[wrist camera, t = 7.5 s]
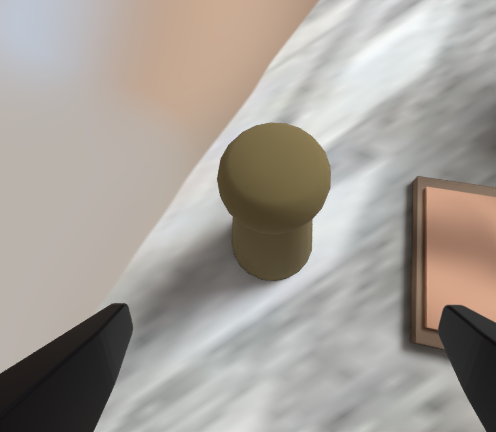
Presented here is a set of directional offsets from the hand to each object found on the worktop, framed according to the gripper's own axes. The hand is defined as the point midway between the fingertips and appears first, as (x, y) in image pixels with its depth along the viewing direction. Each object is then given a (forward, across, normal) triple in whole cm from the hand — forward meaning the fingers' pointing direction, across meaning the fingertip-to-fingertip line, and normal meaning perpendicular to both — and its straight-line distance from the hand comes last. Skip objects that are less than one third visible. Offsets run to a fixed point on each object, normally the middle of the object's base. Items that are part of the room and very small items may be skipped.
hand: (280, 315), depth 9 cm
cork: (+13, 0, +4) cm, 14 cm away
